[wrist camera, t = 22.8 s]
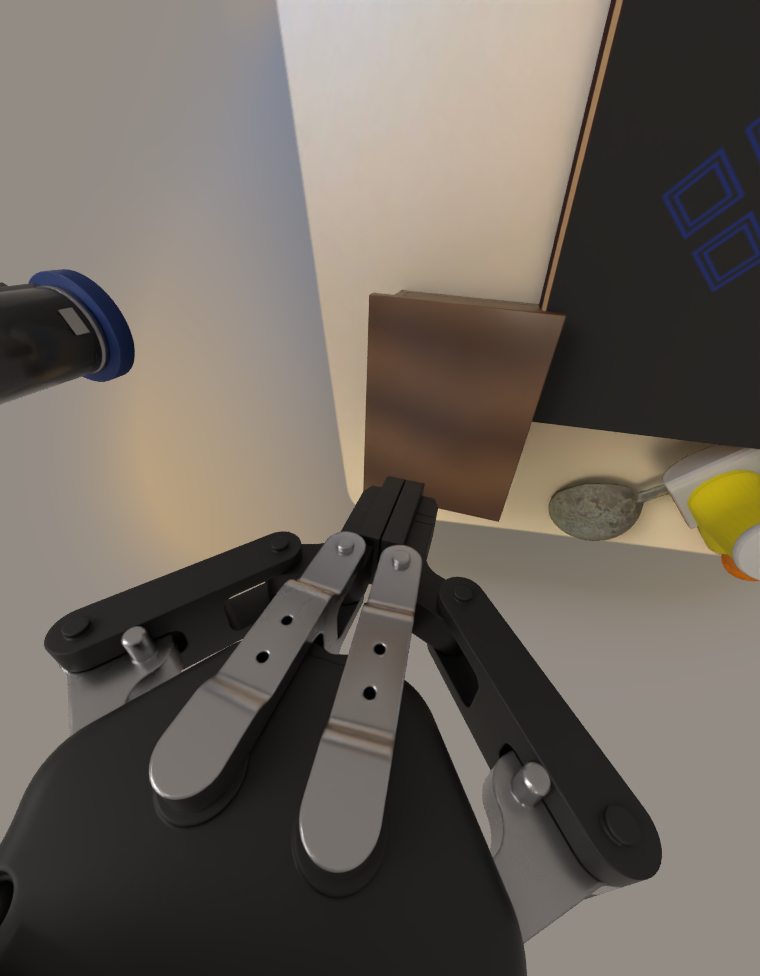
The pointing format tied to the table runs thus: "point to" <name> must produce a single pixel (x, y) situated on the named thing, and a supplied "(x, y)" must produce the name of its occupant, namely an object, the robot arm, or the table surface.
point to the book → (663, 231)
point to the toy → (722, 503)
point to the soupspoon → (599, 509)
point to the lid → (453, 395)
